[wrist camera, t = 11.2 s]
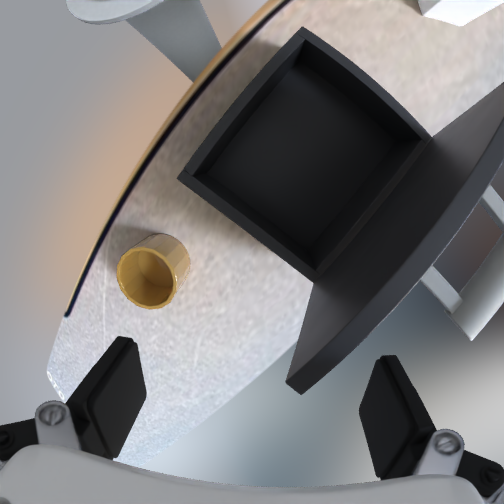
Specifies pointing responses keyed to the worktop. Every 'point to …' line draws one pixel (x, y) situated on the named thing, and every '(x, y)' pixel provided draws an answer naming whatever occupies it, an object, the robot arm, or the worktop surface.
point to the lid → (412, 246)
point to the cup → (153, 271)
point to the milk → (456, 9)
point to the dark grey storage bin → (306, 154)
